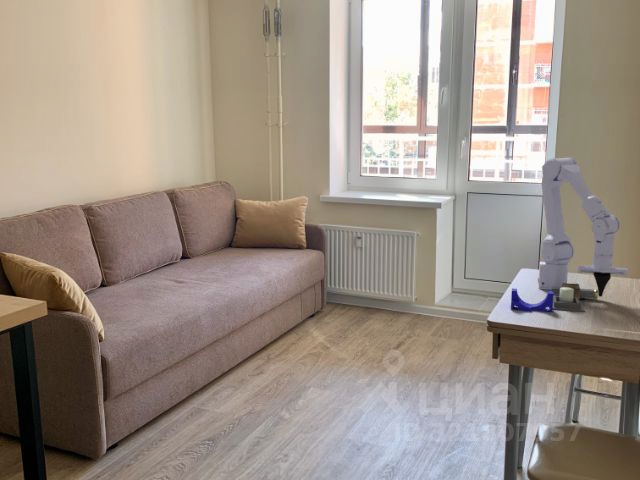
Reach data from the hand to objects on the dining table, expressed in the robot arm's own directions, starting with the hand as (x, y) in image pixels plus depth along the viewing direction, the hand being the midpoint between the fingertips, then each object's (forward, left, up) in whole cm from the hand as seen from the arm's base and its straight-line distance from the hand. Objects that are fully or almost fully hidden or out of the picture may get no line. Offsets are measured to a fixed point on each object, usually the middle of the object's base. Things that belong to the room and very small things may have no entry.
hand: (600, 295), depth 214 cm
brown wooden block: (-9, 0, -1) cm, 9 cm away
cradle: (-11, -10, -1) cm, 15 cm away
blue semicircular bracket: (-21, -17, -2) cm, 27 cm away
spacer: (-11, -10, -1) cm, 15 cm away
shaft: (-8, 0, -1) cm, 8 cm away
